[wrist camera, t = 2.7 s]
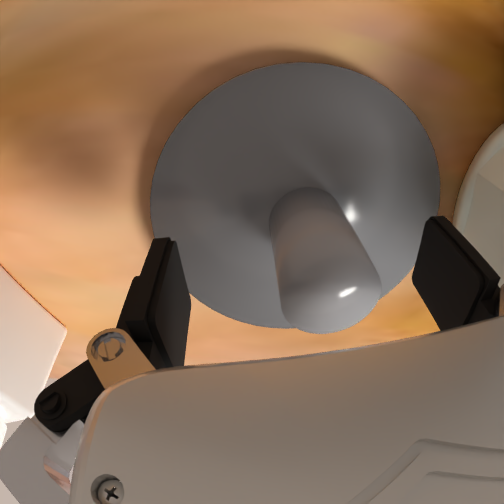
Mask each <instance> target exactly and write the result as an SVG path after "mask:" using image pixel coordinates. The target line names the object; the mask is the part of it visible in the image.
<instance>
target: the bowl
mask: <svg viewBox="0 0 504 504" xmlns="http://www.w3.org/2000/svg"><path fill="white" fill-rule="evenodd" d="M452 225H453V226H454V227H455V228H456V229H457V230H458V231H459V232H460V233H461V234H462V235H463V236H464V237H465V238H466V239H467V240H468V241H469V242H470V243H471V244H472V246H473V247H474V248H475V249H476V250H477V251H478V252H479V253H480V254H481V255H482V257H483V258H484V259H485V260H486V261H487V262H488V263H489V265H490V266H491V267H492V268H493V269H494V270H495V272H496V273H497V274H498V275H499V276H500V278H501V279H500V281H499V283H498V286H499V287H500V288H501V286H502V285H503V284H504V123H503V124H502V125H500V126H499V127H498V128H497V129H496V130H495V131H494V132H493V133H492V134H491V135H490V136H489V137H488V138H487V140H486V141H485V142H484V143H483V145H482V146H481V148H480V149H479V151H478V152H477V154H476V155H475V157H474V159H473V161H472V163H471V164H470V166H469V168H468V170H467V173H466V175H465V177H464V179H463V182H462V185H461V188H460V191H459V193H458V197H457V201H456V205H455V210H454V215H453V223H452Z"/></svg>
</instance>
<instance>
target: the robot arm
mask: <svg viewBox="0 0 504 504" xmlns="http://www.w3.org/2000/svg"><path fill="white" fill-rule="evenodd" d="M500 279H501V278H500V276H499V275H498V274H497V273H496V272H495V270H494V269H493V268H492V267H491V266H490V265H489V263H488V262H487V261H486V260H485V259H484V258H483V257H482V255H481V254H480V253H479V252H478V251H477V250H476V249H475V248H474V247H473V246H472V244H471V243H470V242H469V241H468V240H467V239H466V238H465V237H464V236H463V235H462V234H461V233H460V232H459V231H458V230H457V229H456V228H455V227H454V226H453V225H452V224H451V223H450V222H449V221H448V220H447V219H446V218H445V217H444V216H431V217H430V218H429V219H428V220H427V221H426V222H425V225H424V230H423V234H422V239H421V243H420V247H419V251H418V255H417V259H416V263H415V267H414V271H413V274H412V282H413V284H414V286H415V288H416V289H417V291H418V293H419V294H420V296H421V298H422V299H423V301H424V303H425V304H426V306H427V308H428V309H429V311H430V313H431V314H432V316H433V318H434V320H435V321H436V323H437V325H438V327H439V329H440V330H441V331H438V332H434V333H429V334H425V335H420V336H415V337H410V338H405V339H400V340H395V341H390V342H385V343H379V344H374V345H368V346H362V347H356V348H349V349H343V350H336V351H329V352H322V353H315V354H307V355H299V356H291V357H282V358H272V359H262V360H250V361H239V362H227V363H214V364H200V365H189V366H184V360H185V351H186V342H187V334H188V326H189V318H190V311H191V299H190V295H189V291H188V287H187V283H186V279H185V275H184V271H183V267H182V263H181V259H180V255H179V250H178V246H177V242H176V241H171V239H170V237H164V238H155V239H153V241H152V244H151V247H150V249H149V252H148V255H147V257H146V260H145V263H144V266H143V268H142V271H141V274H140V276H136V277H134V279H133V280H132V283H131V286H130V289H129V291H128V294H127V297H126V300H125V303H124V306H123V308H122V311H121V314H120V317H119V320H118V323H117V326H116V328H110V329H105V330H103V331H101V332H99V333H98V334H96V335H95V336H94V337H93V338H92V339H91V340H90V341H89V343H88V346H87V350H86V354H87V358H88V360H86V361H85V362H83V363H82V364H80V365H79V366H77V367H76V368H74V369H73V370H72V371H70V372H69V373H67V374H66V375H64V376H63V377H61V378H60V379H58V380H57V381H55V382H54V383H53V384H51V385H50V386H48V387H47V388H45V389H44V390H43V391H42V392H41V393H40V394H39V395H38V397H37V398H36V401H35V403H34V413H35V414H34V416H33V417H32V418H31V419H30V418H29V417H27V418H26V419H25V420H24V421H23V422H22V424H21V425H20V426H19V427H18V428H17V430H16V431H15V432H14V433H13V435H12V436H11V437H10V438H9V439H8V440H7V442H6V443H5V444H4V446H3V447H2V448H1V449H0V479H1V480H2V482H3V483H4V484H5V485H6V487H7V488H8V489H9V491H10V492H11V493H12V494H13V496H14V497H15V498H16V499H17V500H18V502H19V503H20V504H504V284H503V285H502V286H501V288H500V287H499V286H498V283H499V281H500ZM75 457H76V459H75ZM73 465H74V469H73V474H72V481H71V484H70V480H69V473H70V470H71V468H72V467H73ZM120 481H121V482H120ZM114 487H115V488H114Z"/></svg>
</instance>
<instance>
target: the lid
mask: <svg viewBox="0 0 504 504" xmlns="http://www.w3.org/2000/svg"><path fill="white" fill-rule="evenodd" d="M439 202H440V176H439V168H438V163H437V159H436V156H435V152H434V149H433V146H432V144H431V142H430V139H429V137H428V135H427V133H426V131H425V129H424V128H423V126H422V124H421V123H420V121H419V120H418V118H417V117H416V115H415V114H414V113H413V112H412V111H411V110H410V108H409V107H408V106H407V105H406V104H405V103H404V102H403V101H402V100H401V99H400V98H399V97H397V96H396V95H395V94H394V93H393V92H391V91H390V90H389V89H388V88H386V87H385V86H383V85H381V84H380V83H378V82H376V81H375V80H373V79H371V78H369V77H367V76H365V75H362V74H360V73H357V72H355V71H352V70H350V69H346V68H342V67H337V66H333V65H329V64H319V63H305V62H294V63H282V64H275V65H270V66H266V67H262V68H258V69H254V70H251V71H249V72H246V73H244V74H241V75H239V76H237V77H234V78H232V79H231V80H229V81H227V82H225V83H224V84H222V85H220V86H219V87H217V88H215V89H214V90H213V91H211V92H210V93H209V94H208V95H206V96H205V97H204V98H203V99H201V100H200V101H199V102H198V103H197V104H196V105H195V106H194V107H193V108H192V109H191V110H190V111H189V112H188V113H187V114H186V116H185V117H184V118H183V119H182V120H181V121H180V122H179V124H178V125H177V126H176V128H175V129H174V131H173V133H172V134H171V136H170V137H169V139H168V140H167V142H166V144H165V146H164V148H163V150H162V153H161V155H160V157H159V159H158V162H157V165H156V169H155V173H154V176H153V180H152V187H151V196H150V212H151V222H152V227H153V233H154V237H155V238H164V237H170V239H171V241H176V242H177V246H178V250H179V255H180V259H181V263H182V267H183V271H184V275H185V279H186V283H187V287H188V291H189V293H190V294H192V295H193V296H194V297H195V298H196V299H198V300H199V301H200V302H202V303H203V304H205V305H206V306H208V307H209V308H211V309H212V310H214V311H216V312H218V313H220V314H222V315H225V316H227V317H229V318H232V319H235V320H237V321H240V322H244V323H248V324H252V325H256V326H262V327H269V328H297V329H299V330H302V331H305V332H309V333H315V334H326V333H333V332H337V331H341V330H344V329H347V328H349V327H351V326H353V325H355V324H356V323H358V322H359V321H361V320H362V319H363V318H365V317H366V316H367V315H368V314H369V313H370V312H371V311H372V309H373V308H374V307H375V305H376V304H377V302H378V300H379V299H380V298H382V297H383V296H385V295H386V294H387V293H388V292H390V291H391V290H392V289H393V288H394V287H395V286H396V285H397V284H399V283H400V282H401V280H402V279H403V278H404V277H405V276H406V275H407V274H408V273H409V272H410V270H411V269H412V268H413V266H414V265H415V263H416V259H417V255H418V251H419V247H420V243H421V239H422V234H423V230H424V225H425V222H426V221H427V220H428V219H429V218H430V217H431V216H437V215H438V209H439Z"/></svg>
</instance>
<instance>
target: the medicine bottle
mask: <svg viewBox="0 0 504 504" xmlns="http://www.w3.org/2000/svg"><path fill="white" fill-rule="evenodd" d="M66 334H67V329H66V327H65V326H63V325H62V324H61V323H60V322H59V321H58V320H56V319H55V318H54V317H53V316H52V315H51V314H50V313H49V312H47V311H46V310H45V309H44V308H43V307H42V306H41V305H40V304H39V303H38V302H37V301H36V300H34V299H33V298H32V297H31V296H30V295H29V294H28V293H27V292H26V291H25V290H24V289H23V288H22V287H21V286H20V285H19V284H18V283H17V282H16V281H15V280H14V279H13V278H12V277H11V276H10V275H9V274H8V273H7V272H6V271H5V270H4V269H3V267H2V266H1V265H0V449H1V446H2V443H3V439H4V436H5V433H6V430H7V426H6V424H5V423H9V422H14V421H18V420H22V419H26V418H27V417H29V418H31V417H33V416H34V414H35V413H34V403H35V401H36V398H37V397H38V395H39V394H40V393H41V392H42V391H43V390H44V387H45V385H46V382H47V379H48V377H49V374H50V372H51V369H52V367H53V364H54V362H55V359H56V357H57V355H58V352H59V350H60V348H61V345H62V343H63V341H64V338H65V336H66Z"/></svg>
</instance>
